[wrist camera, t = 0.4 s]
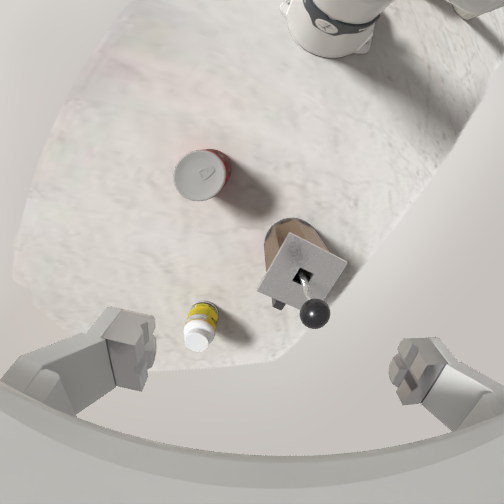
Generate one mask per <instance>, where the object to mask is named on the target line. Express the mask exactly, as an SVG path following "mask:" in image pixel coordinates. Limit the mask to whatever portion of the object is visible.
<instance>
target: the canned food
mask: <svg viewBox="0 0 504 504" xmlns="http://www.w3.org/2000/svg"><path fill="white" fill-rule="evenodd" d="M230 174H231V164H230V161H229V159H228V158H227V156H226V155H225V154H223V153H222V152H220V151H218V150H213V149H207V150H196V151H193V152H190V153H188V154H186V155H185V156H184V157H182V158H181V160H180V161H179V162H178V164H177V165H176V167H175V170H174V184H175V186H176V189H177V190H178V192H179V193H180V194H181V195H182V196H183V197H185V198H187V199H189V200H192V201H204V200H208V199H210V198H212V197H214V196H215V195H217V193H218V192H219V191H220V190H221V189H222V188H223V186H224V185H225V184H226V182H227V181H228V179H229V177H230Z"/></svg>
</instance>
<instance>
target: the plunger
mask: <svg viewBox="0 0 504 504" xmlns="http://www.w3.org/2000/svg"><path fill="white" fill-rule="evenodd" d="M311 274H312V273H311V272H309V271H307V270H304V269H302V268H299V270H298V272H297V273H296V275H295V277H294V278H293V279H294V280H296V281H298V282H300V283H301V284H302V287H303V291H304V294H305V297H306V300H307V301H306V302H305V303H304V304H303V305H302V307H301V309H300V319H301V321H302V323H303V324H304V325H305V326H307V327H308V328H312V329H318V328H321V327H323V326H324V325H325V324H326V323H327V322H328V320H329V318H330V309H329V307H328V305H327V304H326V303H325V302H324V301H323V300H321V299H316V298H315V299H314V297H313V294H312V291H311V288H310V286H309V283H308V279H309V277H310V276H311Z"/></svg>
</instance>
